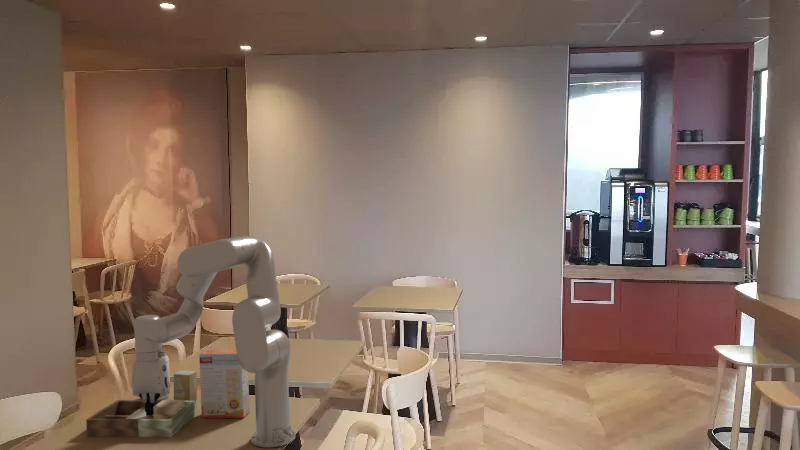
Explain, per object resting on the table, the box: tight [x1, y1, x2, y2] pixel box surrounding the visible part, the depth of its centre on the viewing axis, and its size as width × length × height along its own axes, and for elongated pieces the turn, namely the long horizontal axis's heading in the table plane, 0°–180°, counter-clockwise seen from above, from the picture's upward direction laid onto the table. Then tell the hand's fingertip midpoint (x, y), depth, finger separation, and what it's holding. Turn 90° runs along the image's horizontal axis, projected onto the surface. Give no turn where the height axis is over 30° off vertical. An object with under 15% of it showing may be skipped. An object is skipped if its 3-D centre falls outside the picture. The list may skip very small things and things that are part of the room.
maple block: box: [153, 399, 185, 419], centre depth 184 cm, size 7×6×4 cm
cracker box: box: [199, 349, 250, 419], centre depth 192 cm, size 14×6×21 cm, turn 84°
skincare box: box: [173, 369, 198, 408], centre depth 200 cm, size 6×4×12 cm
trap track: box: [85, 399, 197, 438], centre depth 185 cm, size 26×17×5 cm, turn 85°
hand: (151, 414), depth 185 cm, fingers closed
